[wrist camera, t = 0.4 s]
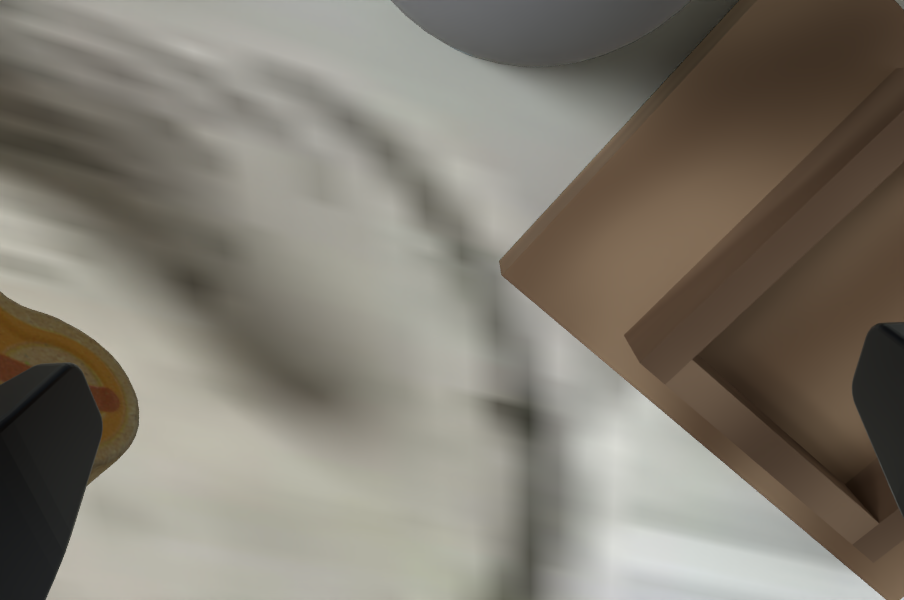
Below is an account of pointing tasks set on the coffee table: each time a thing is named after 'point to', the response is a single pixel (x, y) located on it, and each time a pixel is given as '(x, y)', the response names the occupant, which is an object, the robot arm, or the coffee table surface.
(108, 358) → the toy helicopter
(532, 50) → the blue grey domed cylinder
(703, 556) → the coffee table surface
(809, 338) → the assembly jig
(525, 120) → the coffee table surface
